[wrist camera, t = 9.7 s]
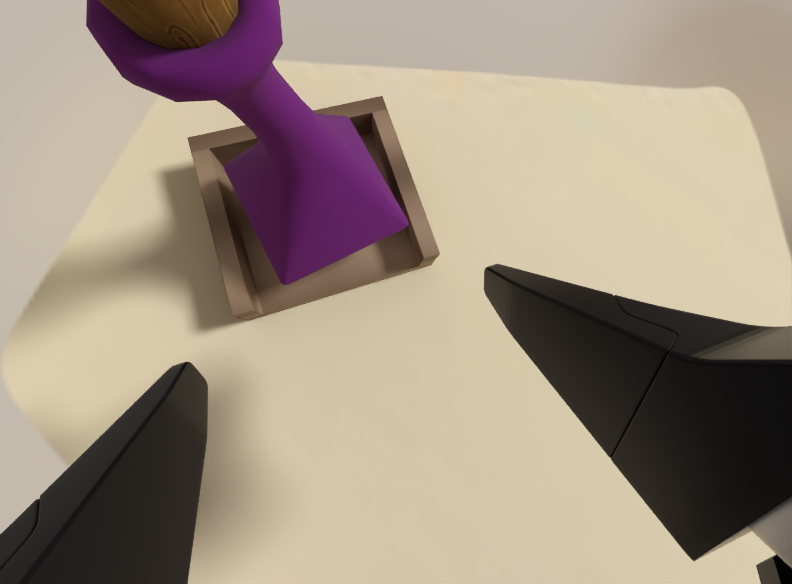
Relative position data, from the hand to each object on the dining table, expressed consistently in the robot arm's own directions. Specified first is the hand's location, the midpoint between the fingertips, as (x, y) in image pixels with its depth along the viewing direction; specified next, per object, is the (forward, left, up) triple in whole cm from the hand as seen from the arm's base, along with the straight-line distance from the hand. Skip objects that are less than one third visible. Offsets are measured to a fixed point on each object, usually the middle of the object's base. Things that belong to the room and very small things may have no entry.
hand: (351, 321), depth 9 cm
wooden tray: (+6, -5, -10) cm, 13 cm away
